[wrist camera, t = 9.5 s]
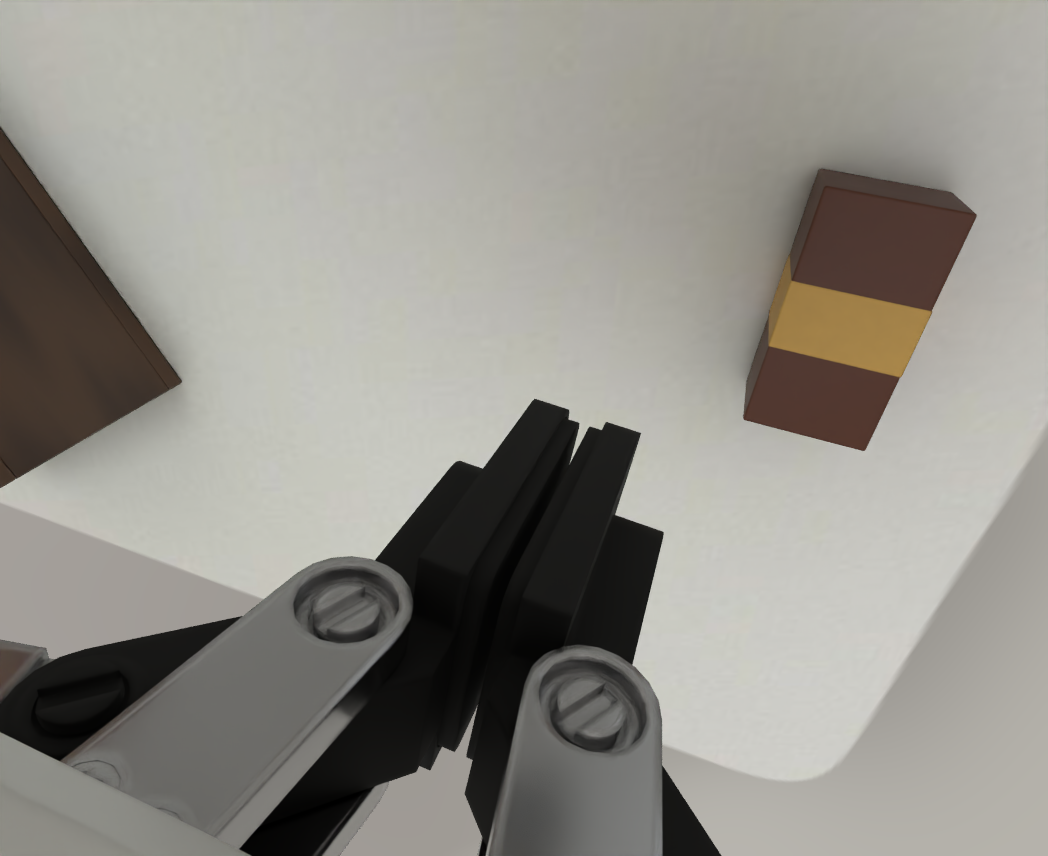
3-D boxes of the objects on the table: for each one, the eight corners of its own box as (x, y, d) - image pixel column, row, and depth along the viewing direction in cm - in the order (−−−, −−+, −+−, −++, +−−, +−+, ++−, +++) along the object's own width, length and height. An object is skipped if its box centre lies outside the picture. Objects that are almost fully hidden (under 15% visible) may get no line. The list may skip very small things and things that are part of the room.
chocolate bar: (745, 381, 23) (741, 420, 21) (818, 167, 19) (823, 185, 17) (856, 409, 22) (866, 453, 20) (954, 192, 19) (979, 214, 16)
